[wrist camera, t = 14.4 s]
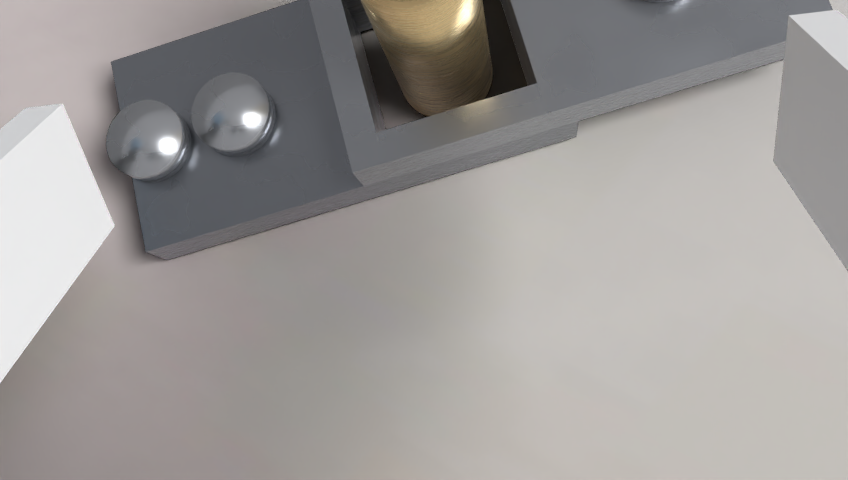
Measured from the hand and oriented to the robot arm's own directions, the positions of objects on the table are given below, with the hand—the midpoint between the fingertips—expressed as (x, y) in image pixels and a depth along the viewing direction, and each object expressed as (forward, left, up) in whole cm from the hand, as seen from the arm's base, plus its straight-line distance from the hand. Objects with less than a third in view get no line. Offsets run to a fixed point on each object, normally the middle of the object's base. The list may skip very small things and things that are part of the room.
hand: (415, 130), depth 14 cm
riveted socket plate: (-1, +6, -11) cm, 13 cm away
